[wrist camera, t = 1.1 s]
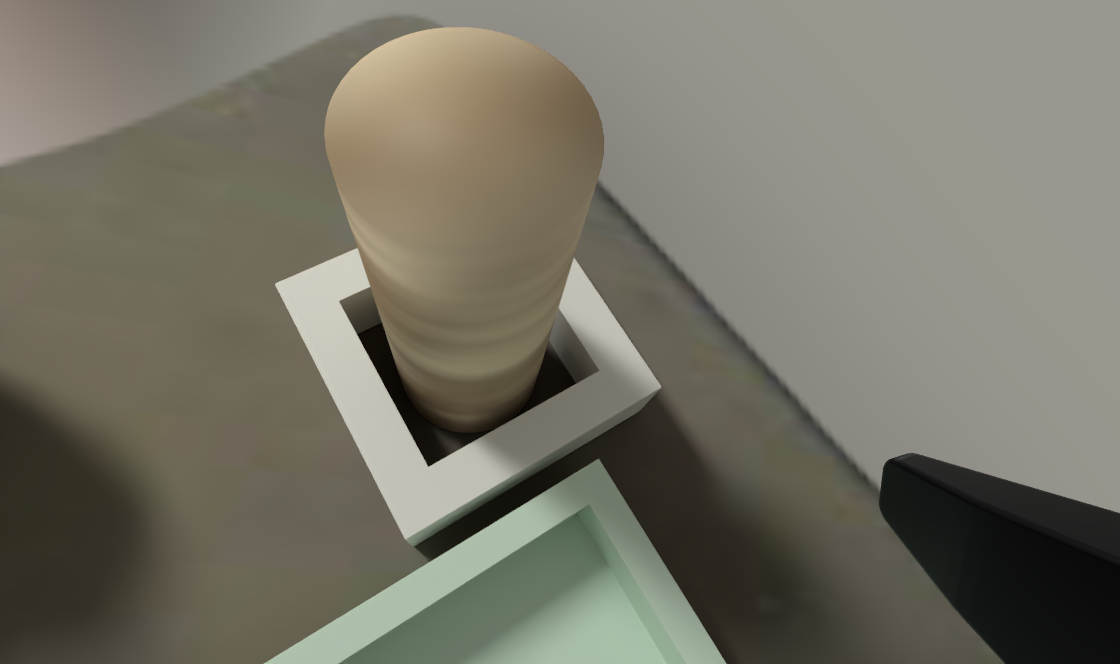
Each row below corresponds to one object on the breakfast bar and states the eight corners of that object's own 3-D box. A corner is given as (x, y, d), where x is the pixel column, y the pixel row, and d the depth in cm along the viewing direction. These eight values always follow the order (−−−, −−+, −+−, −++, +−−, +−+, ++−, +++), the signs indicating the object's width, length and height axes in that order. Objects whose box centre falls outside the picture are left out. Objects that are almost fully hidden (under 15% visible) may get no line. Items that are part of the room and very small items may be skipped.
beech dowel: (562, 391, 23) (655, 182, 12) (441, 458, 22) (405, 299, 10) (495, 284, 25) (517, -2, 13) (376, 341, 23) (278, 77, 11)
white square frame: (639, 411, 24) (661, 387, 21) (414, 546, 21) (405, 539, 18) (514, 221, 26) (520, 178, 23) (298, 320, 23) (274, 284, 20)
